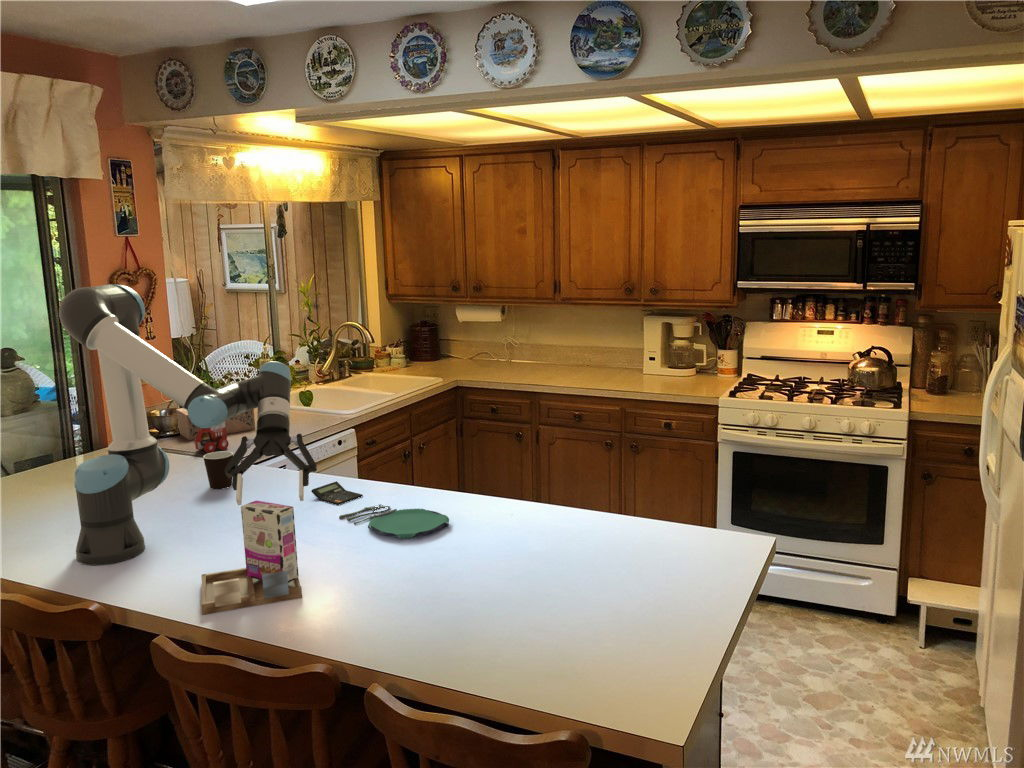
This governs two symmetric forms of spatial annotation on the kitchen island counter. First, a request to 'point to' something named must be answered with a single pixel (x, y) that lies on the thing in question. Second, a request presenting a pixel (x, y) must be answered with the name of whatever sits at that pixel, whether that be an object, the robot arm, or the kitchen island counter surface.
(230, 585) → the divided tray
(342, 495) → the calculator
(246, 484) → the kitchen island counter surface
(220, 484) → the coffee mug
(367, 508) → the cutlery set
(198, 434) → the toy fire truck
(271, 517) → the candy bar box
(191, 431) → the tissue box cover
